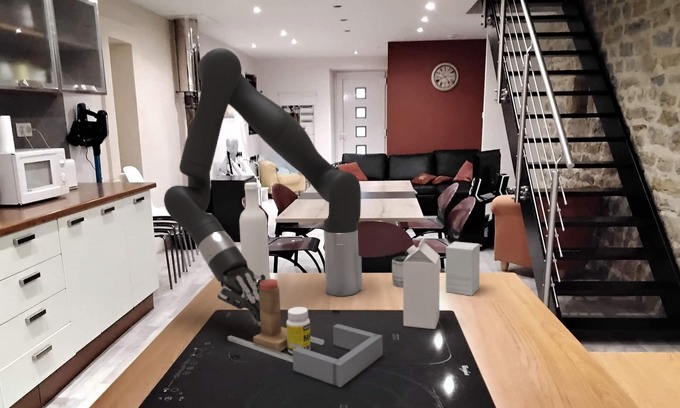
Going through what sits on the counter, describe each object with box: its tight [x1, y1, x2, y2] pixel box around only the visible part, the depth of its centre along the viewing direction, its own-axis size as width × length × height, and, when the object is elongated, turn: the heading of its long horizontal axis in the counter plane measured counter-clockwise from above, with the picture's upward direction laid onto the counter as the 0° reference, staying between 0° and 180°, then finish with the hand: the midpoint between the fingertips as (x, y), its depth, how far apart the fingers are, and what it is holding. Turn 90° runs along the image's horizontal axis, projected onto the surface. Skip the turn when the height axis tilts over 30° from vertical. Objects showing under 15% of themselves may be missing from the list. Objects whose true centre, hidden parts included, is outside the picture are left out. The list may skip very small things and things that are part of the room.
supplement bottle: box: [286, 306, 312, 355], centre depth 95 cm, size 5×5×8 cm
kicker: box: [253, 278, 288, 352], centre depth 99 cm, size 7×7×13 cm
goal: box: [292, 323, 384, 388], centre depth 90 cm, size 14×11×4 cm
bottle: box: [239, 181, 271, 280], centre depth 135 cm, size 8×8×30 cm
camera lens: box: [391, 255, 408, 288], centre depth 135 cm, size 6×6×8 cm
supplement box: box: [445, 241, 481, 297], centre depth 128 cm, size 7×7×13 cm
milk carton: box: [402, 237, 441, 330], centre depth 107 cm, size 7×7×19 cm
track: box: [227, 321, 325, 364], centre depth 100 cm, size 10×18×1 cm, turn 54°
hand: (263, 319), depth 101 cm, fingers closed
